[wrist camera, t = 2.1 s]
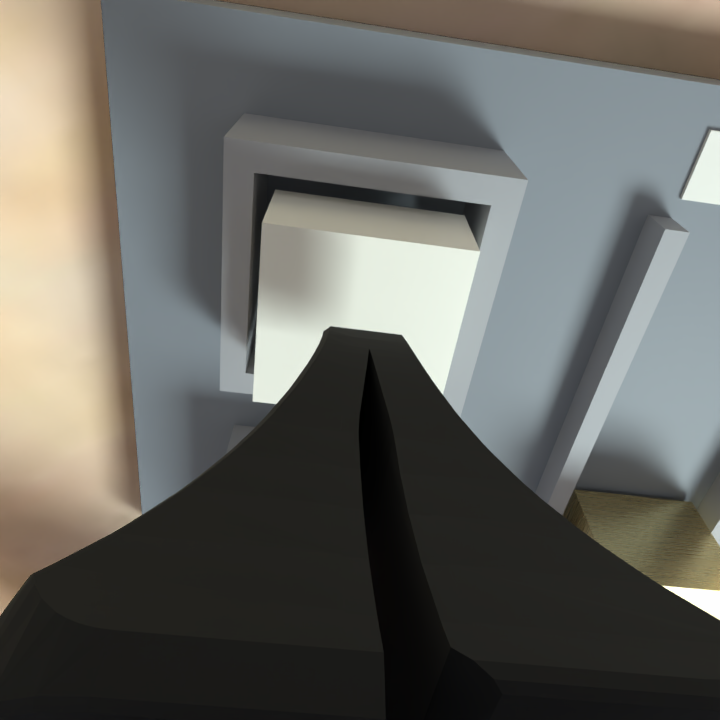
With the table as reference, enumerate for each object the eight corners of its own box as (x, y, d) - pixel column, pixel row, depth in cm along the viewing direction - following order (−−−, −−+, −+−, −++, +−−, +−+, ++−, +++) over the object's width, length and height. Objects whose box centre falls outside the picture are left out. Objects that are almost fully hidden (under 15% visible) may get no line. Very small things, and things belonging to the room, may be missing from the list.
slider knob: (644, 579, 22) (688, 673, 19) (538, 570, 22) (565, 663, 19) (691, 501, 20) (749, 594, 17) (574, 489, 19) (612, 581, 16)
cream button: (427, 371, 15) (435, 421, 13) (265, 352, 15) (252, 401, 13) (464, 215, 13) (480, 251, 11) (275, 189, 12) (262, 222, 11)
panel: (673, 572, 25) (728, 676, 21) (161, 523, 24) (124, 626, 20) (964, 118, 15) (1155, 162, 12) (131, -13, 14) (48, -10, 10)
